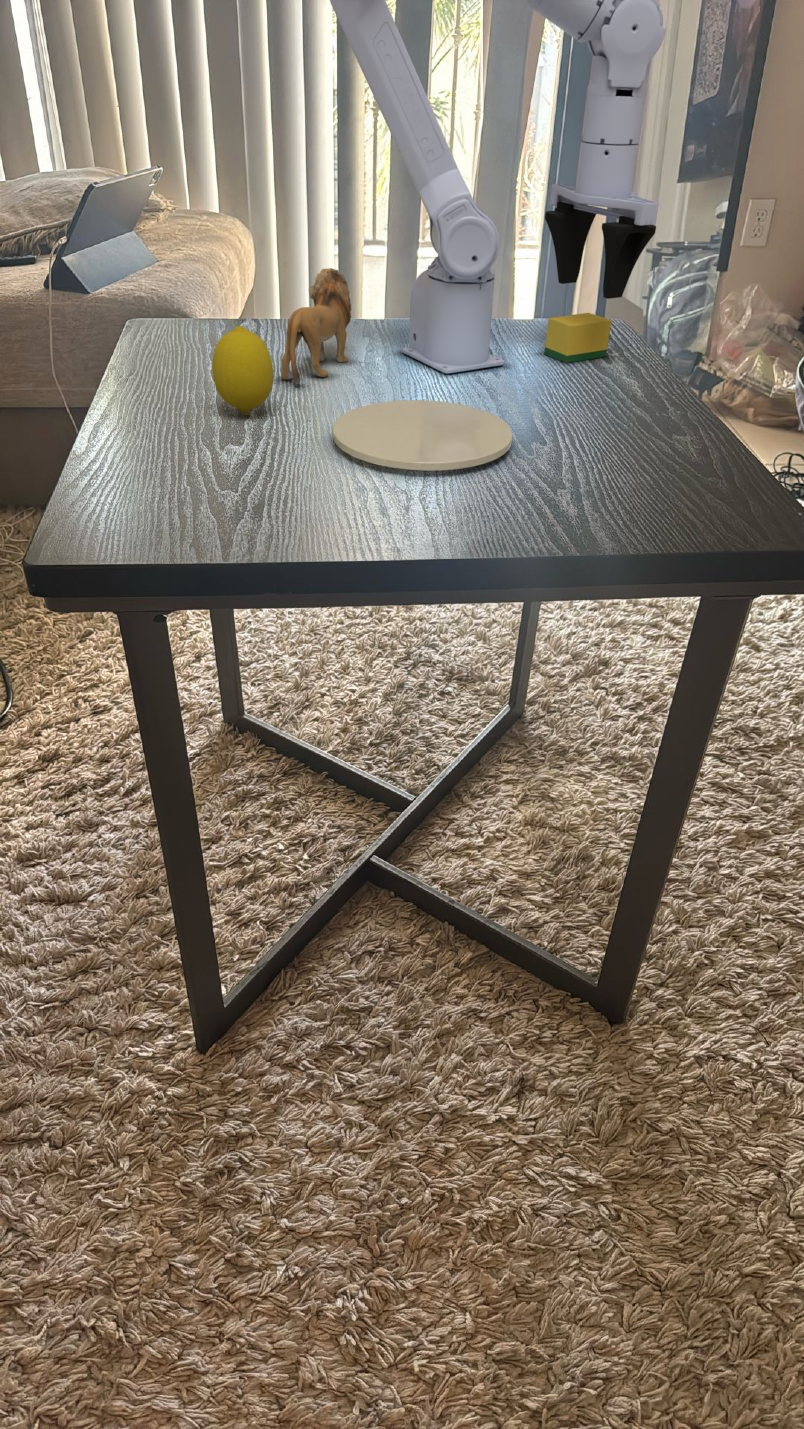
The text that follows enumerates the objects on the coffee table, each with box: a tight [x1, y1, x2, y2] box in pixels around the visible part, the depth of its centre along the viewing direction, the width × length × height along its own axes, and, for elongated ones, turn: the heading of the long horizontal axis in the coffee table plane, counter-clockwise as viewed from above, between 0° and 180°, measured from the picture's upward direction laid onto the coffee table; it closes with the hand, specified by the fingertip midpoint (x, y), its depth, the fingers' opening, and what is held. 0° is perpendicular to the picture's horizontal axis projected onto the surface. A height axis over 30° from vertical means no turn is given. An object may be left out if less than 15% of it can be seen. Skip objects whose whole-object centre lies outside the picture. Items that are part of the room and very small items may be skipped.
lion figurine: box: [281, 267, 352, 384], centre depth 96 cm, size 15×5×9 cm, turn 168°
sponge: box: [544, 312, 612, 364], centre depth 105 cm, size 4×6×4 cm, turn 121°
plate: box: [332, 399, 514, 472], centre depth 81 cm, size 16×16×1 cm
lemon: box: [212, 325, 274, 416], centre depth 84 cm, size 6×6×8 cm
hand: (589, 289), depth 99 cm, fingers open, 7 cm apart
